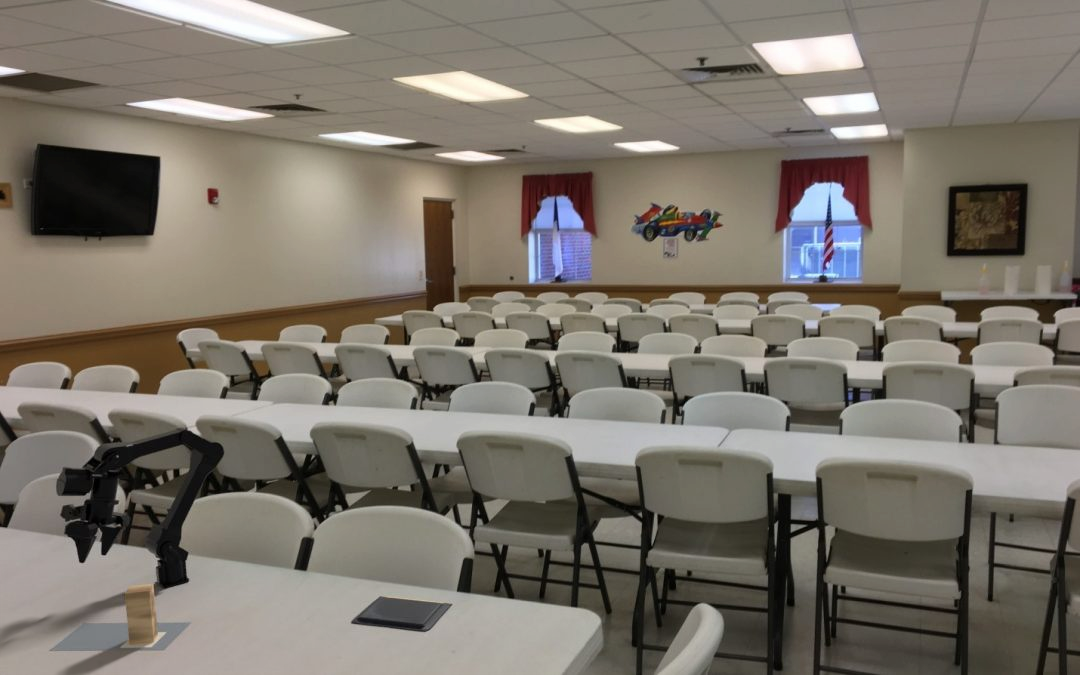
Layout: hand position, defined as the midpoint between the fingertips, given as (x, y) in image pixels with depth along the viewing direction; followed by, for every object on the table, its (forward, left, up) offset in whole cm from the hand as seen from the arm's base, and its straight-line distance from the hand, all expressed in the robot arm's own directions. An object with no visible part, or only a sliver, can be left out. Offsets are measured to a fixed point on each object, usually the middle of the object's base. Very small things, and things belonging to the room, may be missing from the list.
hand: (92, 559), depth 205 cm
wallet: (-54, +56, -13) cm, 79 cm away
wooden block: (-4, +29, -11) cm, 31 cm away
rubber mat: (0, +23, -12) cm, 26 cm away
